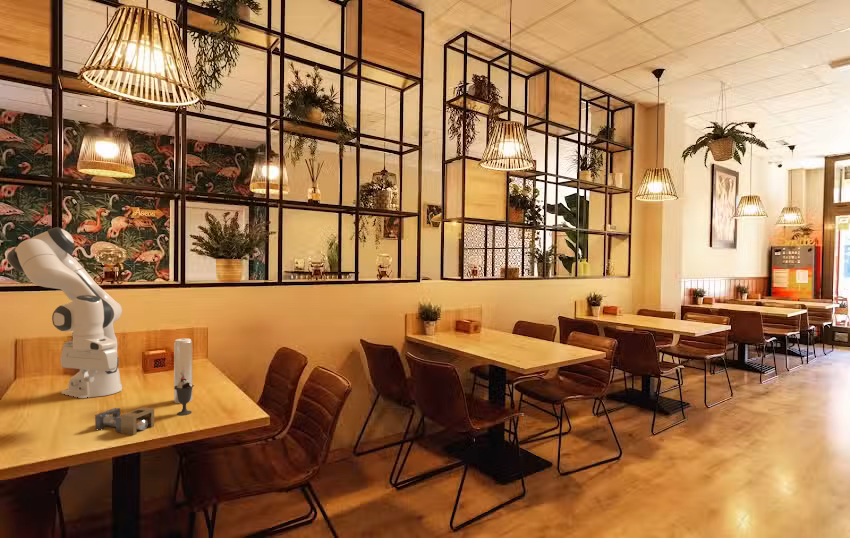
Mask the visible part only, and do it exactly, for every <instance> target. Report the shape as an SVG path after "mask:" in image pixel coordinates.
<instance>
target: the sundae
mask: <svg viewBox="0 0 850 538" xmlns="http://www.w3.org/2000/svg"><path fill="white" fill-rule="evenodd" d="M181 374H182V373H181ZM194 387H195V385H194V384H193V383H192V384H190V383H189V381H188V380H187V379H184V378H183V375H182V378H181V381H180V382H179V384H178V386H175V387H174V386H173V389H176V391H177V396H178V401H179V402H180V403H179V404H181V405H182V409H181V411H178V412H177V413H176V415H177V416H187V415H191V414H192V412H193V411H192V410H188V408H187V404H188V403H190V402H191V401H190V399H191V393H192V394H193V388H194ZM189 401H190V402H189Z"/></svg>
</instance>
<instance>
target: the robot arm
mask: <svg viewBox="0 0 850 538" xmlns="http://www.w3.org/2000/svg"><path fill="white" fill-rule="evenodd" d="M75 244H76V243H75V240H74V237H73V236H72V234H71V233H70V232H68V231H67V230H65V229H64V228H61V227H57V226H56V227H53V228H49V229H47V231H44V232H40V233H38V234H37V235H35V236H32V237H31V238H28V239H25V240H23V241H21V242H20V243H18V245H17V247H14V248H13V249H11V250H10V251H9V252H8V253H7V256H6V259H7V262H8V263H9V265H10V266H11V268H13V269H14V270H15V271H17V272H18V273H21V274H25V276H26V278H28V280H29V281H30V282H31V283H33V284H34V285H36V286H39V287H43V288H48V289H49V288H50V289H56V290H61V291H62V292H63V294H64V295H65V296H66V297H67V299H69V300H71V302H68V303H65V304H62V305H59V306H57V307H56V308H55V309H54V311H53V313H52V315H51V316H52V318H51V319H52V325H53V326H54V327H55V328H56V329H57V330H59V331H60V332H72V340H67V341H66V342H64V344H63V345H62V349H61V354H60V361H59V362H60V366H61V367H62V368H66V369H77V370H79V371H78V372H77V373H76V374H74V375H73V376H71V377H70V378H69V380H68V387H67V388H66V389H63V390H62V391H61V395H64V394H65V395H66V396H68V395H69V397H73V396H74V398H77V397H78V399H88V398H94V397H105V396H110V395H113V394H117V393H119V392H122V390H123V384H122V382H121V375H120V369H119V366H120V363H119V362H120V360H119V359H120V358H119V357H118V338H117V336H116V334H115V329H114V323H116V322H117V321H118V320H119V319H120V317H121V316H122V314H123V307H122V305H121V303H119V302H118V301H116V300H115V299H114V298H113V297H112V296H111V295H110V294H109V293H108V292H106V291H105V290H104V289H103V288H102V287H101V286H99V285H98V284H97V282H96V281H95V280H94V279H93V278H92V276H91V275H90V274H89V273H88V271H86V269H85V268H84V266H82V264H80V262H78V261H77V259H76V258H74V256H72V255H73V254H74V249H75ZM65 395H64V396H65ZM87 397H88V398H87Z"/></svg>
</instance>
